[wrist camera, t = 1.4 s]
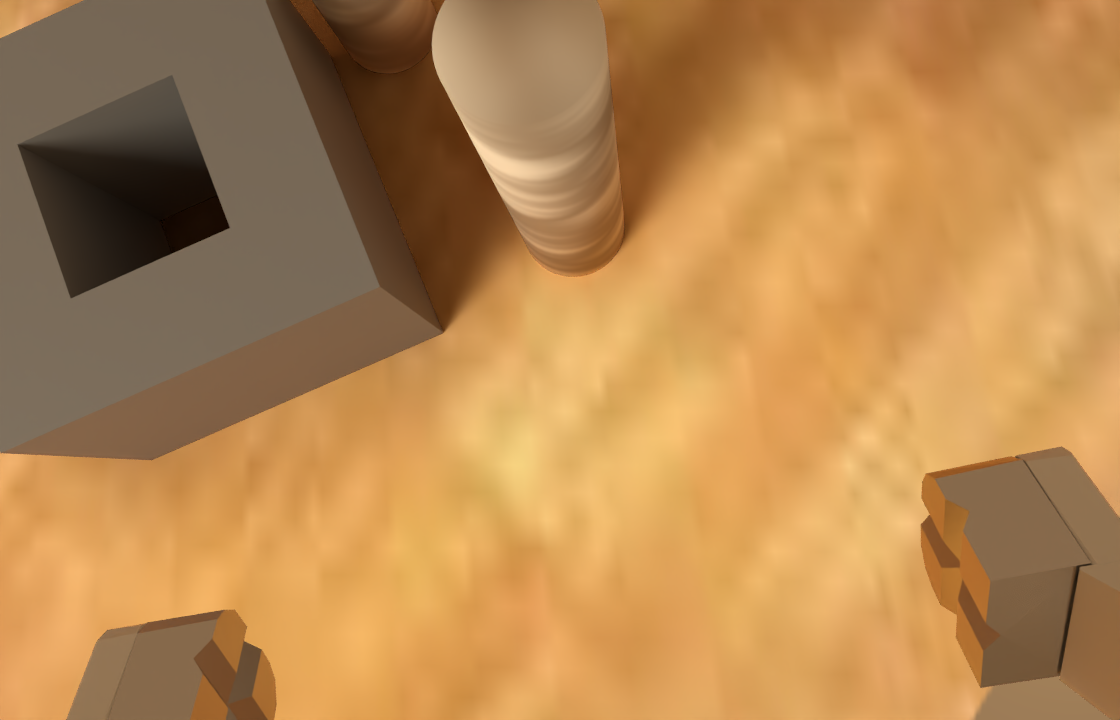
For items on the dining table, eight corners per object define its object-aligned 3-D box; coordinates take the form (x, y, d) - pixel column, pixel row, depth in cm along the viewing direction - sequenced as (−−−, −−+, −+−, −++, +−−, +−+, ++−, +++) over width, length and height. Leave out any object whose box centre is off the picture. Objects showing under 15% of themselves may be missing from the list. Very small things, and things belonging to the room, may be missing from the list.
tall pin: (547, 292, 42) (470, 152, 24) (508, 202, 43) (406, 0, 25) (641, 251, 42) (633, 80, 24) (600, 162, 42) (564, -70, 25)
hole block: (151, 460, 43) (0, 453, 33) (52, 178, 45) (-117, 91, 35) (443, 332, 42) (379, 286, 32) (329, 54, 44) (237, -70, 34)
